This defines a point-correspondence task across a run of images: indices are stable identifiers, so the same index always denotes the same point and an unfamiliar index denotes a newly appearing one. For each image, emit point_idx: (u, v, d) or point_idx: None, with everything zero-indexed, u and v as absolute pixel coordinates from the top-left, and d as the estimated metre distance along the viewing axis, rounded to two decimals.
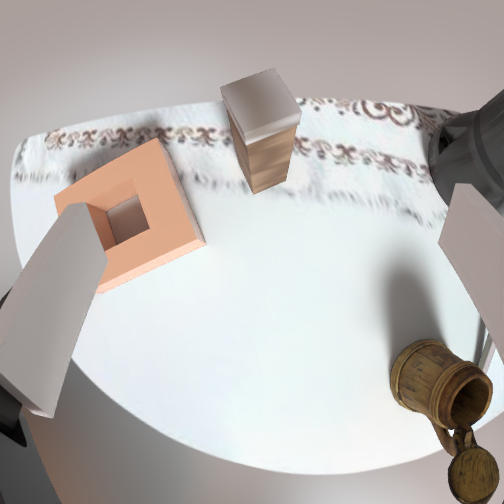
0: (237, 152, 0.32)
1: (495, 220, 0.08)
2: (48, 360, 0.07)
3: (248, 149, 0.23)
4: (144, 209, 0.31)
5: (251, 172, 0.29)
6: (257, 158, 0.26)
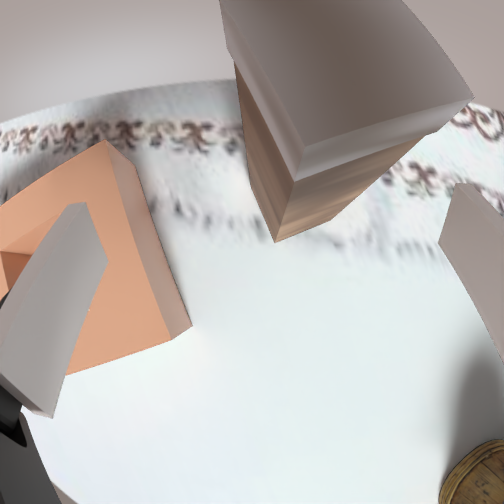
0: (251, 171, 0.17)
1: (495, 220, 0.08)
2: (48, 360, 0.07)
3: (295, 188, 0.08)
4: None
5: (283, 223, 0.13)
6: (305, 202, 0.11)
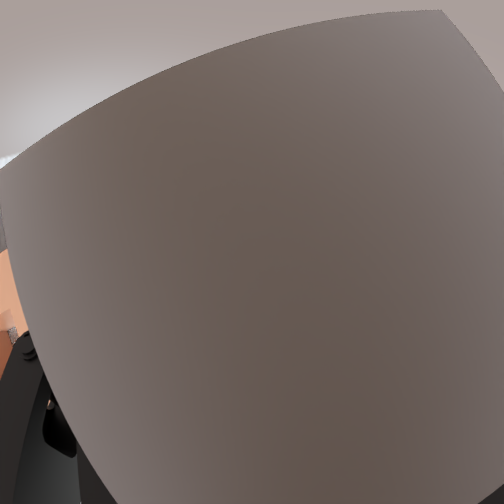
0: None
1: None
2: None
3: None
4: None
5: None
6: None
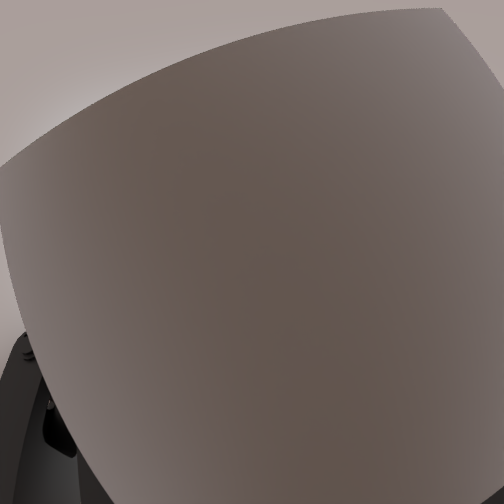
0: None
1: None
2: None
3: None
4: None
5: None
6: None
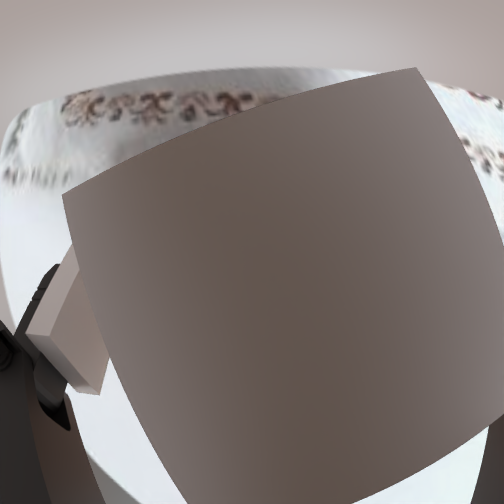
0: None
1: None
2: (97, 335, 0.08)
3: None
4: None
5: None
6: None
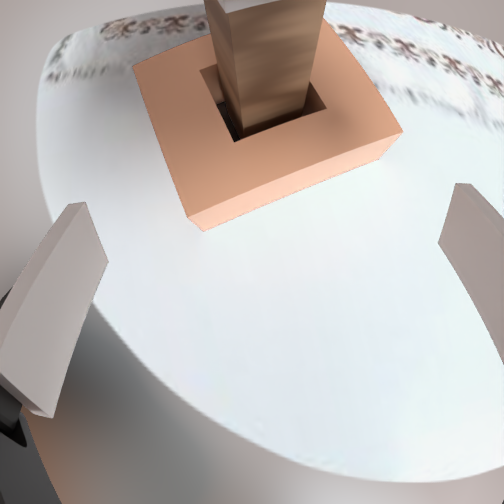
0: (222, 82, 0.18)
1: (495, 220, 0.08)
2: (48, 360, 0.07)
3: (232, 30, 0.10)
4: (313, 82, 0.18)
5: (241, 99, 0.15)
6: (251, 63, 0.12)
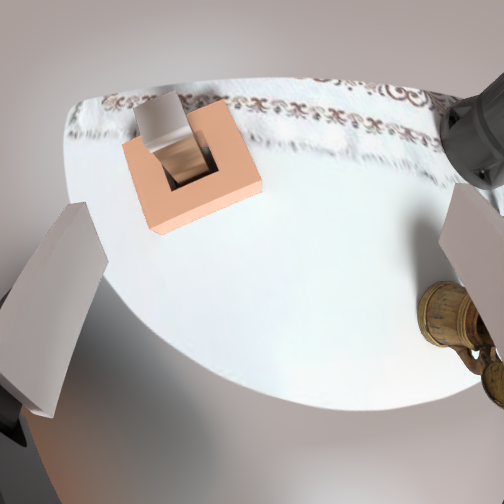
0: None
1: (495, 220, 0.08)
2: (48, 360, 0.07)
3: (156, 155, 0.29)
4: (214, 155, 0.37)
5: (171, 173, 0.34)
6: (169, 162, 0.31)
